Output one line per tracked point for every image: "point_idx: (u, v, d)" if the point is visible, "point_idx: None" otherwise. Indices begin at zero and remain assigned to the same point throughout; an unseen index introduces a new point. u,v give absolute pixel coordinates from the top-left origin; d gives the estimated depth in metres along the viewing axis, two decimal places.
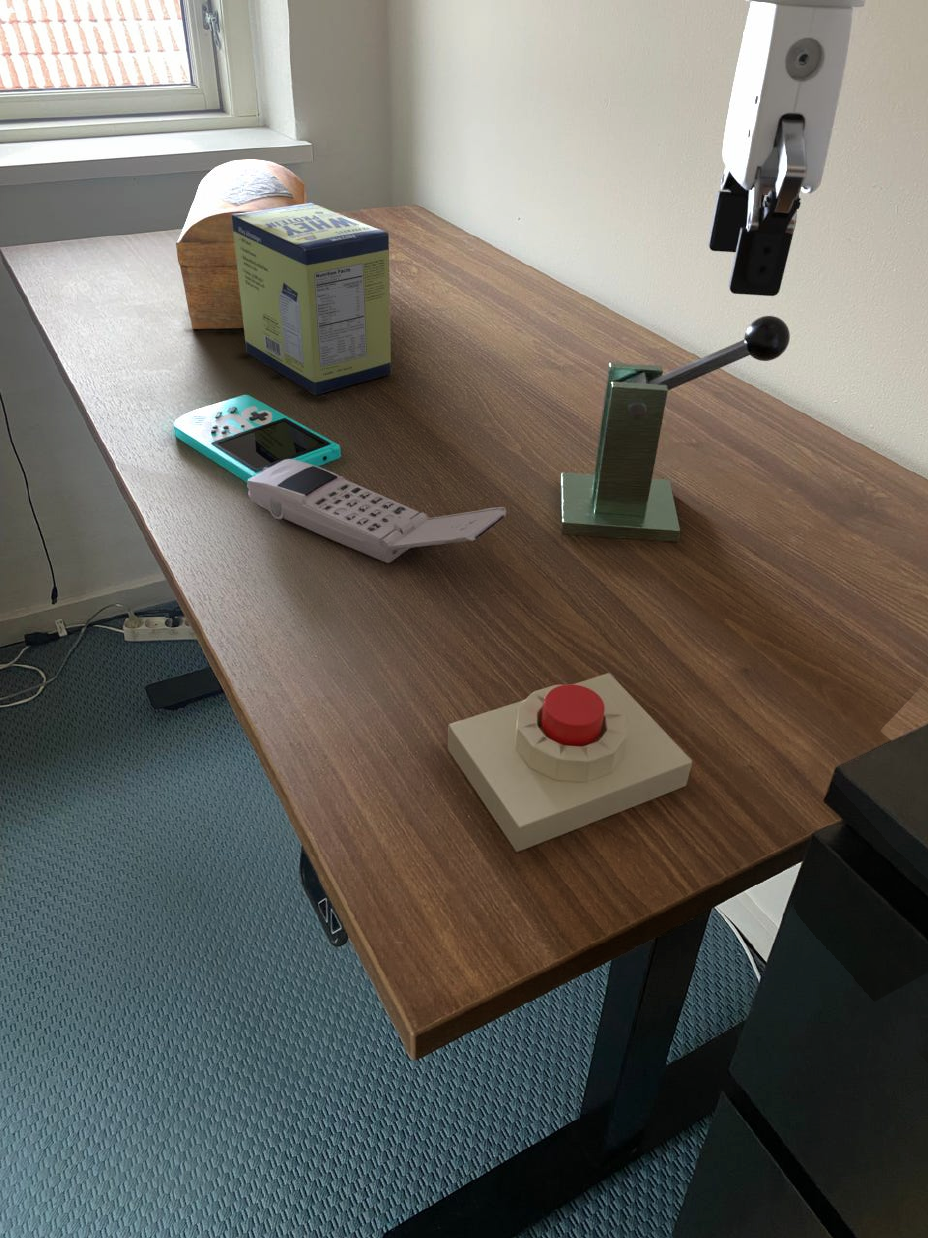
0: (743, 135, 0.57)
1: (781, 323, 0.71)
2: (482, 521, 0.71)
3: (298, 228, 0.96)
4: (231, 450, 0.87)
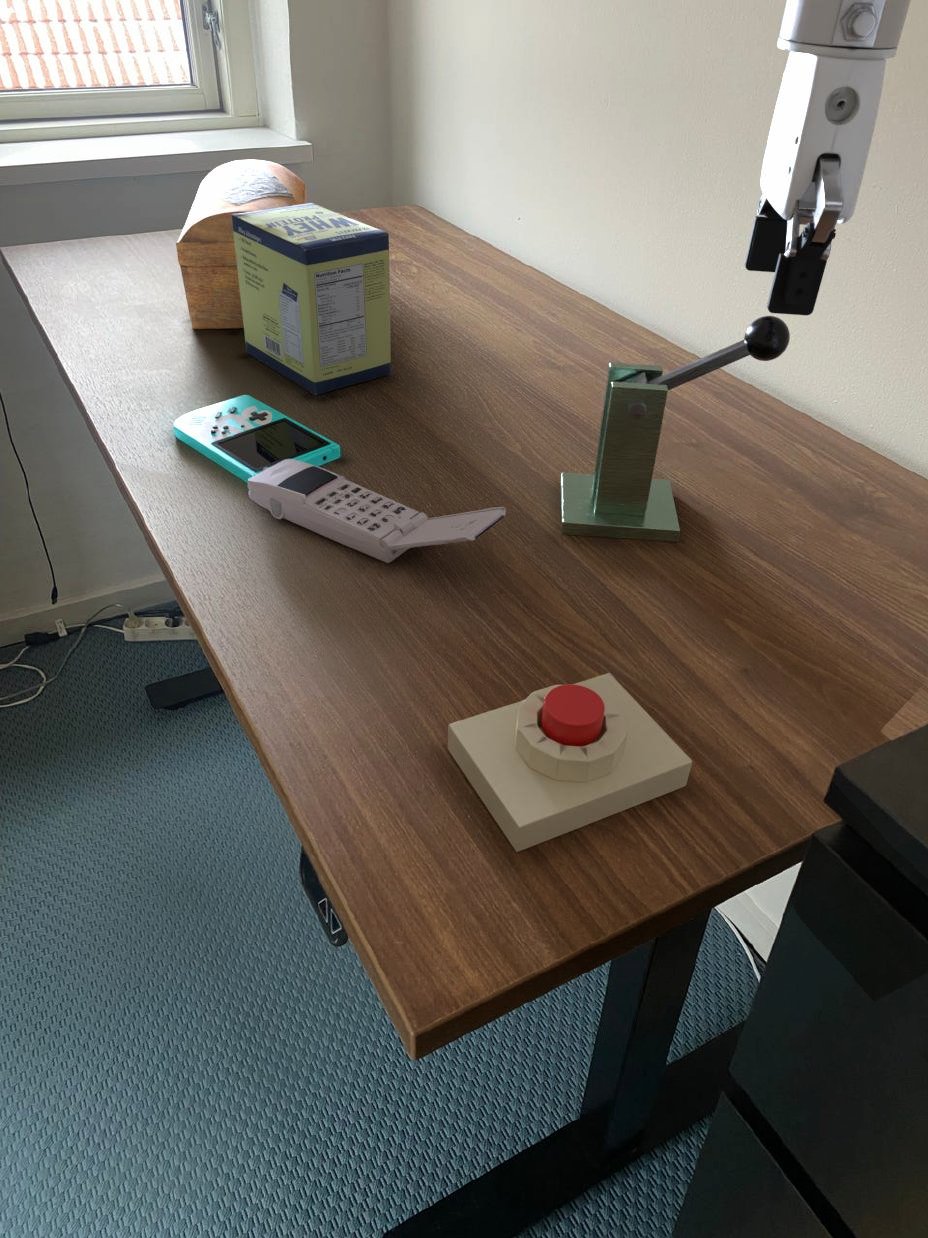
0: (783, 170, 0.63)
1: (781, 323, 0.71)
2: (482, 521, 0.71)
3: (298, 228, 0.96)
4: (231, 450, 0.87)
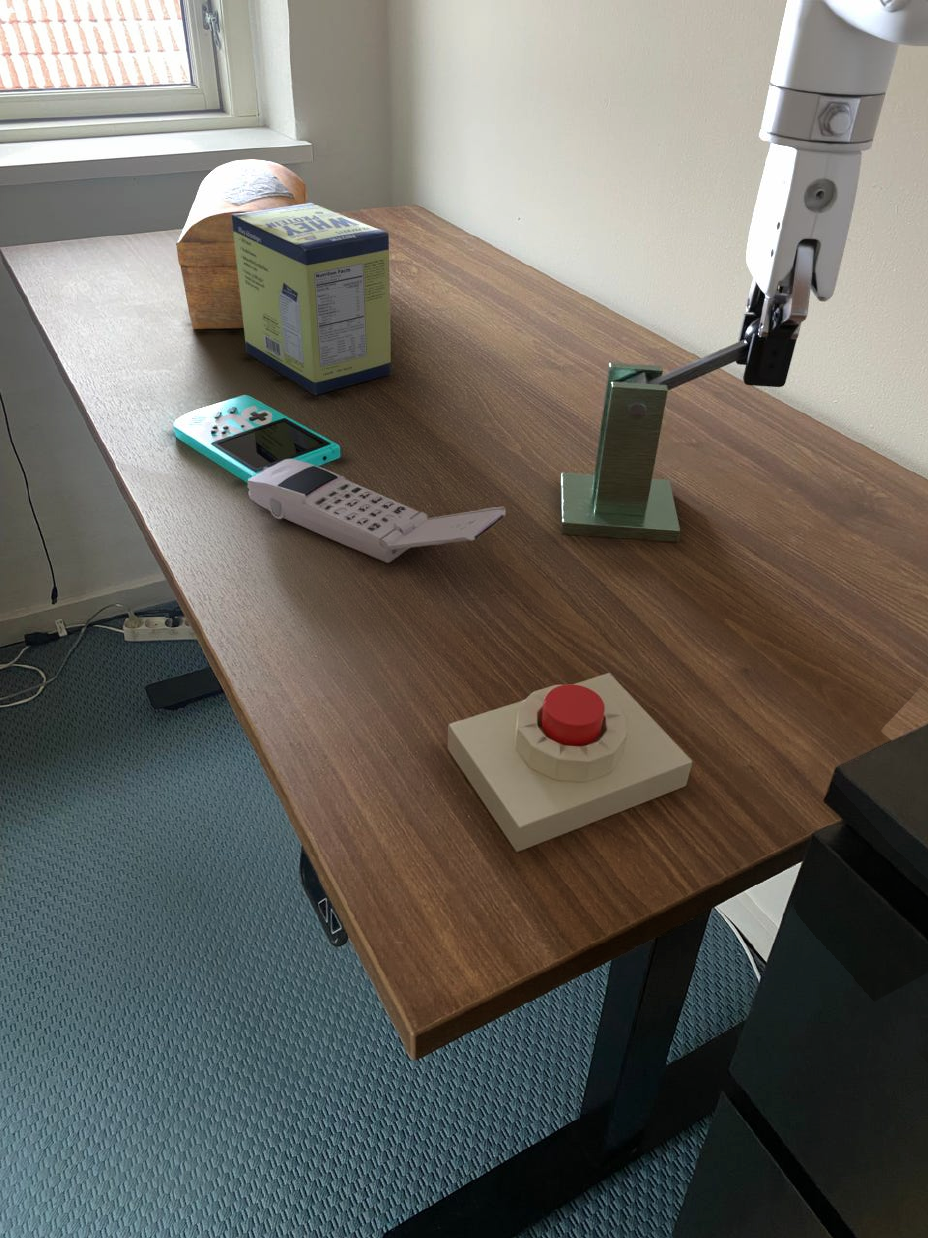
0: (766, 252, 0.66)
1: None
2: (482, 521, 0.71)
3: (298, 228, 0.96)
4: (231, 450, 0.87)
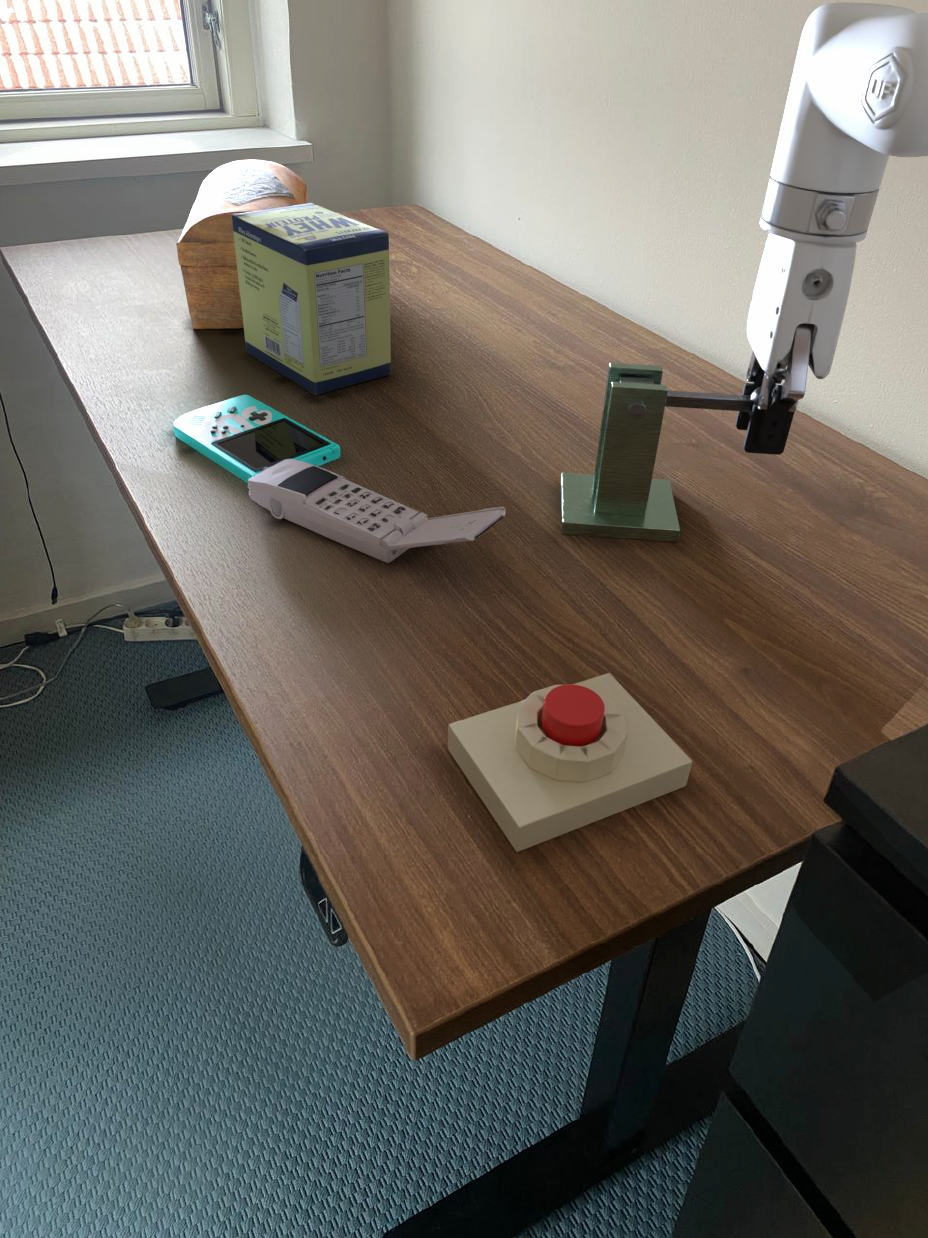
0: (766, 333, 0.69)
1: None
2: (482, 521, 0.71)
3: (298, 228, 0.96)
4: (231, 450, 0.87)
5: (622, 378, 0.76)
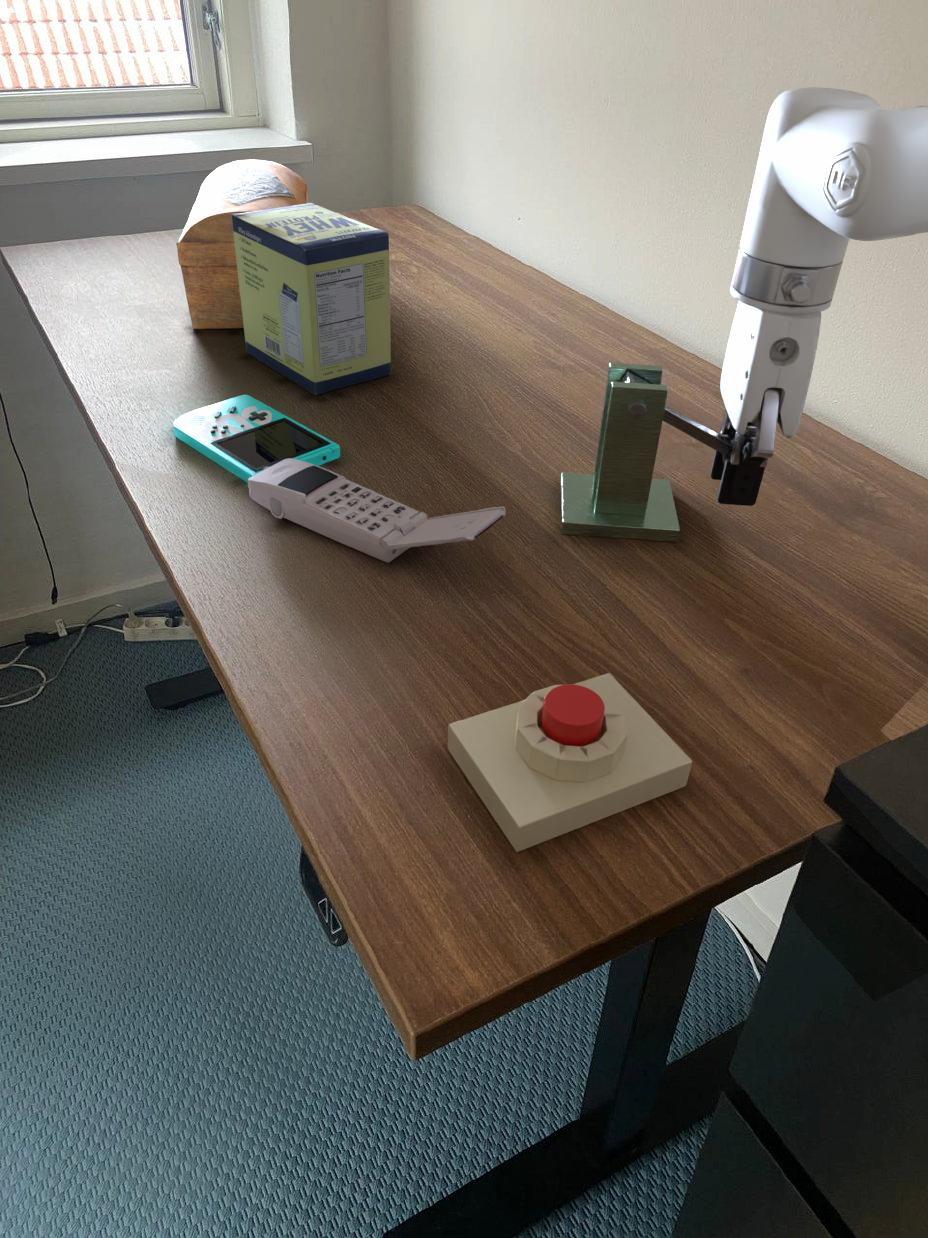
0: (737, 394, 0.72)
1: None
2: (482, 521, 0.71)
3: (298, 228, 0.96)
4: (231, 450, 0.87)
5: (630, 374, 0.76)
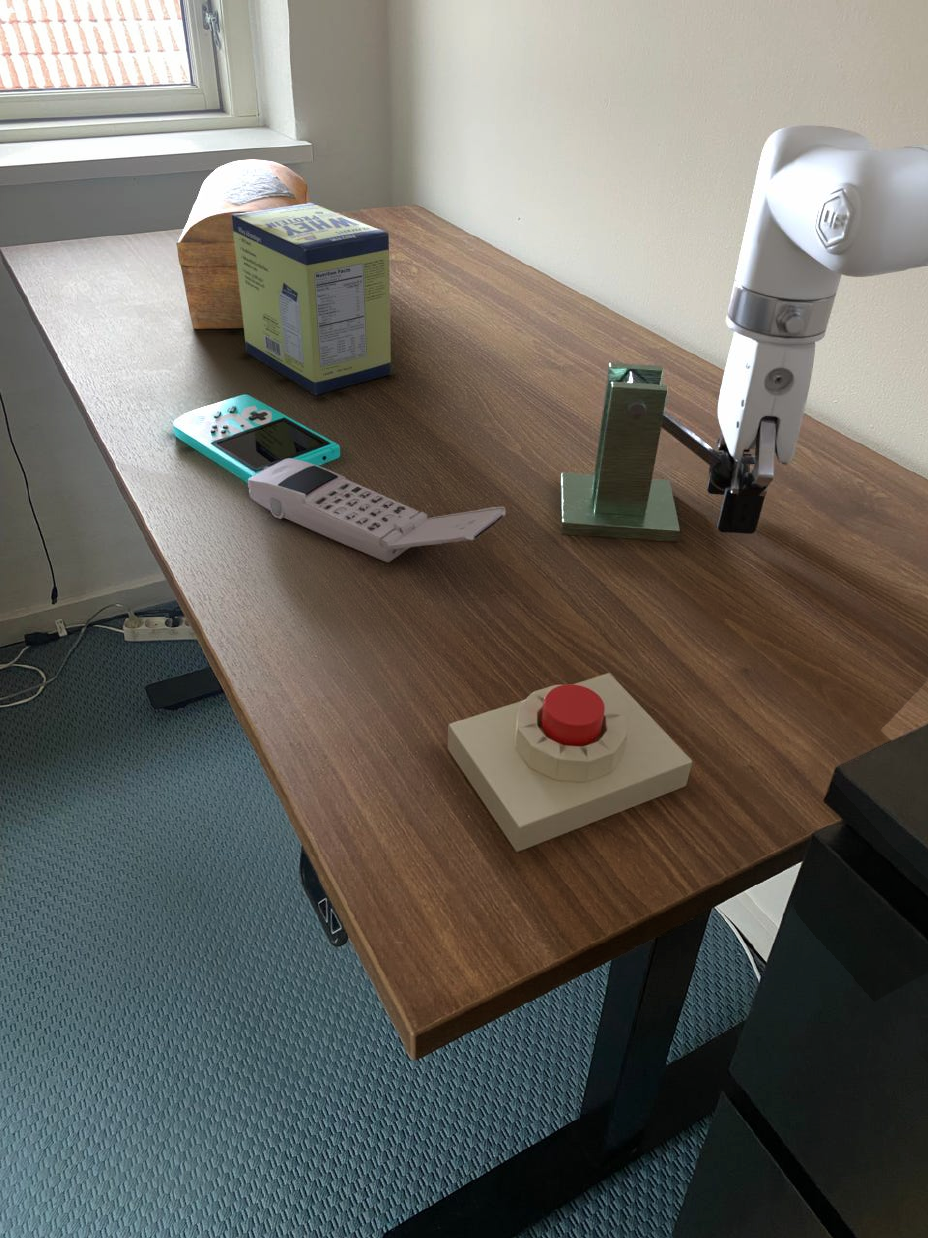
0: (733, 422, 0.74)
1: None
2: (481, 521, 0.71)
3: (298, 228, 0.96)
4: (231, 450, 0.87)
5: (633, 374, 0.76)
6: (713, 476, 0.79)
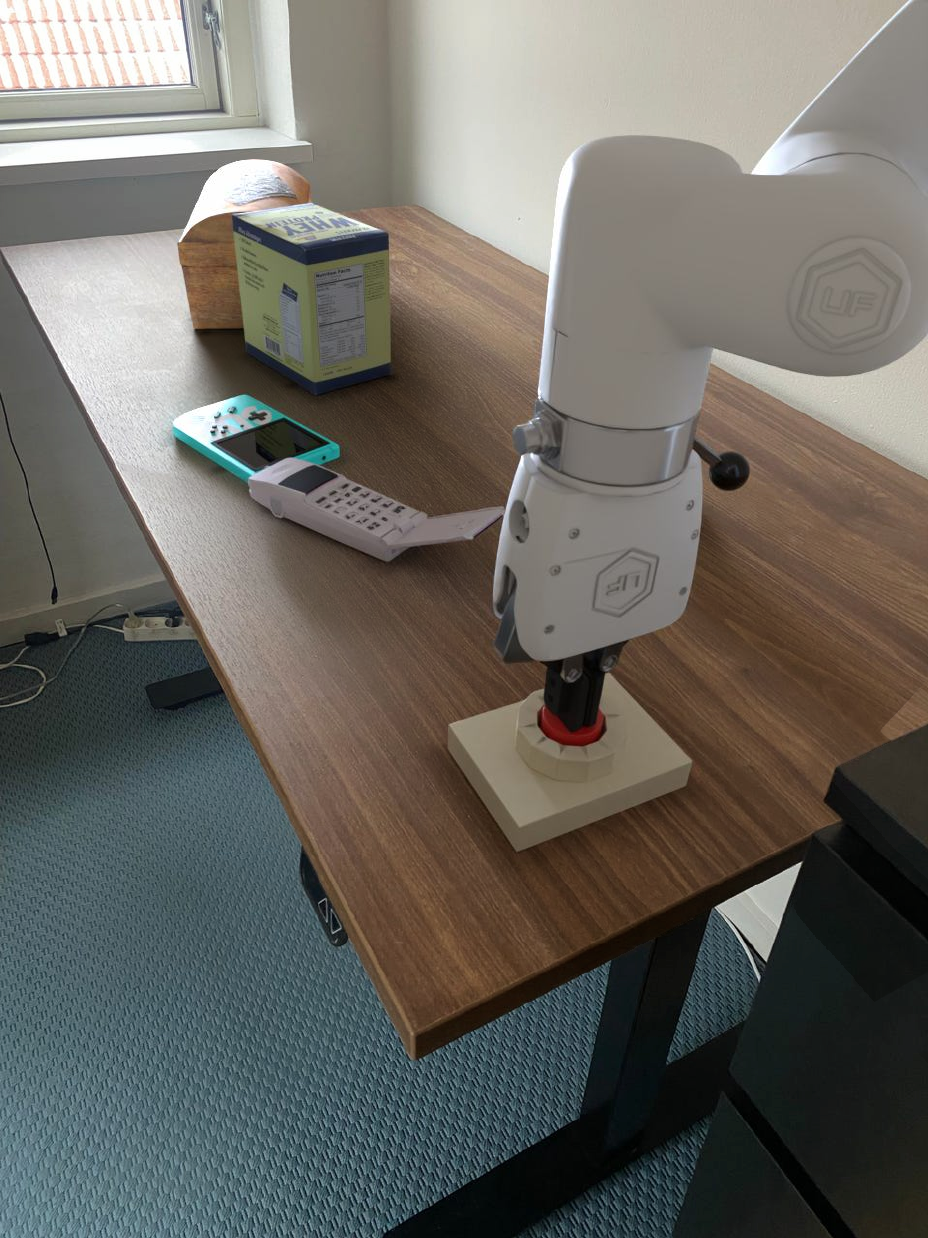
0: None
1: None
2: (481, 520, 0.71)
3: (298, 228, 0.96)
4: (230, 450, 0.87)
5: None
6: (713, 476, 0.79)
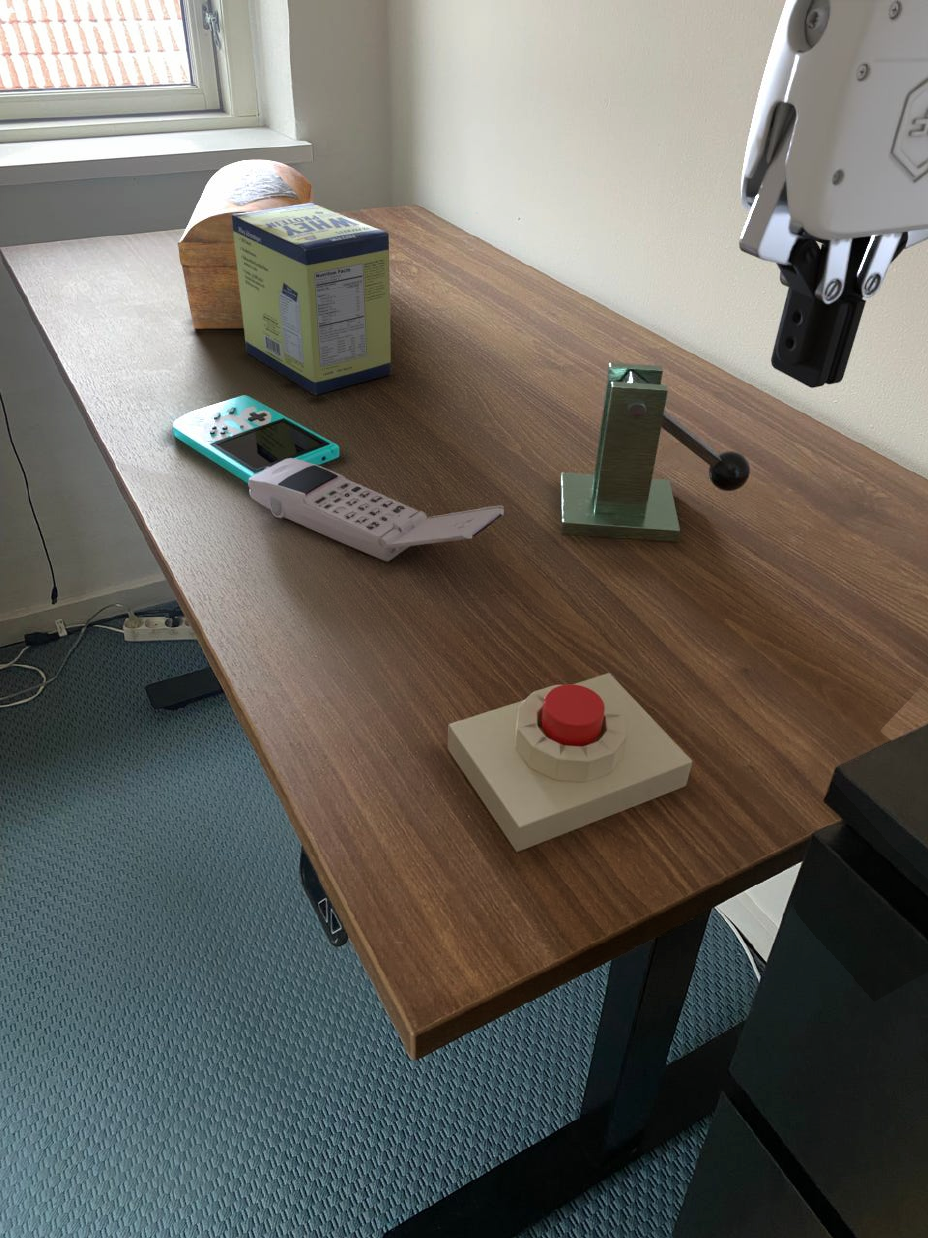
0: None
1: None
2: (480, 519, 0.71)
3: (298, 228, 0.96)
4: (230, 451, 0.87)
5: (633, 374, 0.76)
6: (713, 476, 0.79)
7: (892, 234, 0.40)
